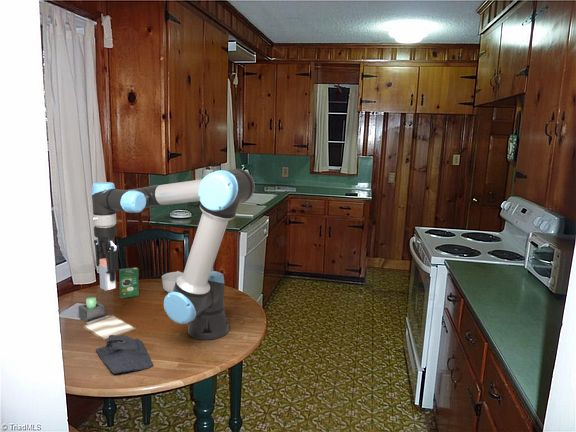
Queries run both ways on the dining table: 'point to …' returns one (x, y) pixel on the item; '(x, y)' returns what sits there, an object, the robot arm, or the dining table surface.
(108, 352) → the dark grey folded cloth
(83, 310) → the switch box
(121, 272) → the coffee box
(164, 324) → the dining table surface
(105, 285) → the pink-tipped grey block
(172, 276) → the teacup
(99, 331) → the cream flat rectangular panel
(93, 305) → the button
